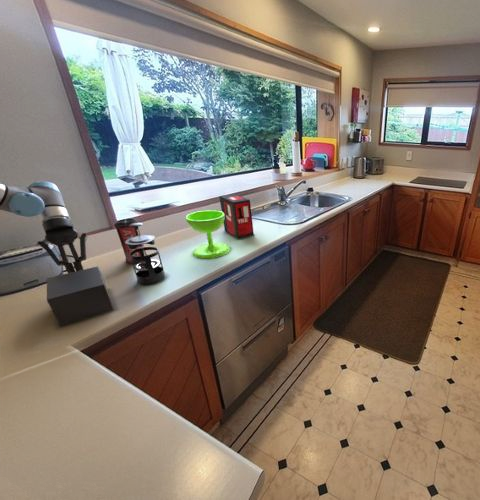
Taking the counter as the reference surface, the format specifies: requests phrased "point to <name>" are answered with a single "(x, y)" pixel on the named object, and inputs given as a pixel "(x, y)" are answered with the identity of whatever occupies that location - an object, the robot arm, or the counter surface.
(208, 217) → the wineglass
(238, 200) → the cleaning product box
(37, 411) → the counter surface
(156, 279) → the french press
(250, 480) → the counter surface
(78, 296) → the cabinet
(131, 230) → the red canister
